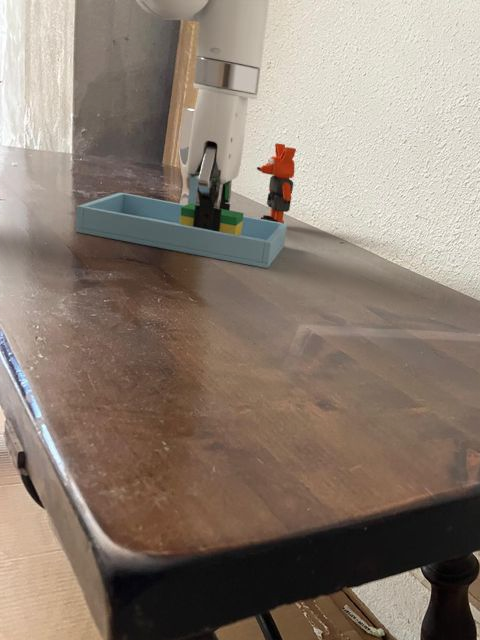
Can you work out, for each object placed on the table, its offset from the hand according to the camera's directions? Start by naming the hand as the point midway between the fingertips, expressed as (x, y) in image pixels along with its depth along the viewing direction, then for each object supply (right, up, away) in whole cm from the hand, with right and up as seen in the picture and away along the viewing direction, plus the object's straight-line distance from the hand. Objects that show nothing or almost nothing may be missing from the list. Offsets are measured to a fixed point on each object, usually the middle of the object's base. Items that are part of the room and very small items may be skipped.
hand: (209, 235), depth 94 cm
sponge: (0, -1, 0) cm, 1 cm away
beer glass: (-5, +7, +18) cm, 20 cm away
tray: (-3, 0, +2) cm, 4 cm away
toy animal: (+6, +8, +24) cm, 25 cm away
